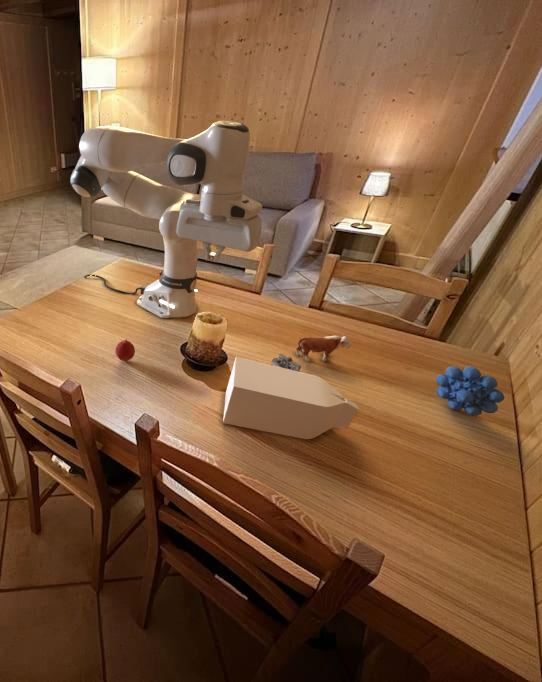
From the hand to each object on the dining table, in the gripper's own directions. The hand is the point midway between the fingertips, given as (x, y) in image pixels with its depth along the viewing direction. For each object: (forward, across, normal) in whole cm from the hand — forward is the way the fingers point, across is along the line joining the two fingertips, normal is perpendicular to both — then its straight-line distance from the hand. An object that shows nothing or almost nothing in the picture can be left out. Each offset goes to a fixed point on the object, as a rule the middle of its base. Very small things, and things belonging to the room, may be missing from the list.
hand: (212, 260), depth 90 cm
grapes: (+31, +56, +20) cm, 67 cm away
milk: (+25, +16, -14) cm, 32 cm away
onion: (+31, -16, -15) cm, 38 cm away
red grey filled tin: (+31, +23, +2) cm, 39 cm away
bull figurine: (+31, +26, +22) cm, 46 cm away
